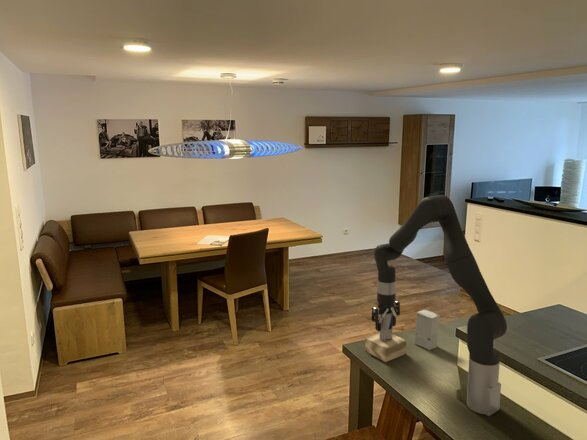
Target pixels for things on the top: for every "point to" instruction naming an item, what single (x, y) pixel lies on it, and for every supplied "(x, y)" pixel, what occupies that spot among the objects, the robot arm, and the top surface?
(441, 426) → the top surface
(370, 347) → the birch block
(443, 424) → the top surface
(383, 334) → the energy drink
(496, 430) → the top surface
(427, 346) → the skincare box
